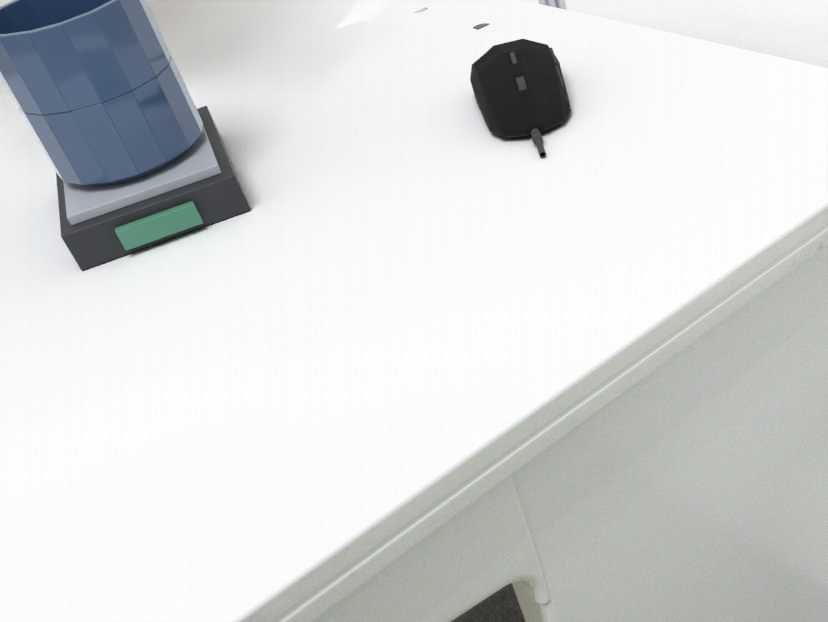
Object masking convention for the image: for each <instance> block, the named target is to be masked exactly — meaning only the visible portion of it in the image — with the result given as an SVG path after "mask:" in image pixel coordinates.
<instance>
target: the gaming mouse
mask: <svg viewBox="0 0 828 622" xmlns="http://www.w3.org/2000/svg"><path fill="white" fill-rule="evenodd" d="M470 68H471V69H470V79H469V80H470V85H471V88H472V91H473V95H474V99H475V102H476V104H477V106H478V108H479V110H480V113H481V116H482V118H483V120H484V123H485V124H486V126H487V128H488V130H489V132H490V133H492V134H493V135H496V136H499V137H502V138H505V139H507V138H517V137H518V138H519V137H527V136H531V140H532V143H533V144H534V145H535V146H536V149H537V152H538V154H539V157H540V158H543V159H544V158H546V157H547V156H546V155H547V153H546V151H545V148H544V145H543V141H544V139H543V136H542V134H541V133H542V132H545V131H548V130H550V129H552V128H554V127H556V126H558V125H561V124H562V123H564V122H565V120H566V119H567V118H568V116H569V114H570V113H571V111H572V108H571V104H570V99H569V94H568V89H567V87H566V82H565V78H564V75H563V71H562V67H561V63H560V60H559V59H558V57H557V56H556V54H555V51H554V49H553V47H552V46H551V47H550V46H549V45H548V44H546V43H542V42H538V41H534V40H530V39H526V38H519V39H516V40H510V41H506V42H503V43H499V44H495V45H492V46H491V47H490V48H489V49H488V50H487V51H486V52H485V53H483V54H482V55H481V56H480V57H479V58H478V59H476V60H475V61H473V63H472V64H471V67H470Z"/></svg>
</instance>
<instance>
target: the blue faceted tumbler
mask: <svg viewBox="0 0 828 622" xmlns="http://www.w3.org/2000/svg"><path fill="white" fill-rule="evenodd" d="M0 78H1V80H2V82H3V84H4V85H5V87H6V89H7V90H8V93H9V94H10V96H11V97H12V99H13V101H14V103H15V104H16V106H17V108H18V110H19V111H20V113H21V115H22V117H23V118H24V120H25V122H26V123H27V125H28V127H29V128H30V130H31V132H32V133H33V135H34V137H35V139H36V140H37V142H38V144H39V146H40V148H41V150H42V151H43V153H44V154H45V156H46V158H47V160H48V161H49V162H50V165H51V166H52V168H53V169H54V172H55V174H56V173H57V174H58V175H59V177H60V178H61V179H62V180H63V181H64V182H67V183H73V184H79V185H89V186H110V185H116V184H121V183H126V182H130V181H133V180H136V179H139V178H142V177H145V176H148V175H150V174H152V173H155V172H157V171H159V170H161V169H163V168H165V167H167V166H169V165H170V164H172V163H174V162H175V161H176V160H178V159H179V158H181V157H182V156H183V155H184V154H185V153H186V152H187V151H188V150H189V149H190V148H191V146H192V144H193V143H194V142H195V141H196V140H197V139H198V138H199V137H200V136H201V134H202V128H203V122H202V120H201V118H200V115H199V113H198V111H197V109H198V108H197V106H196V105H195V103H194V101H193V99H192V96H191V94H190V92H189V90H188V88H187V85H186V84H185V82H184V79H183V77H182V75H181V72H180V70H179V69H178V66H177V64H176V62H175V60H174V58H173V55H172V53H171V51H170V49H169V46H168V45H167V42H166V41H165V38H164V36H163V34H162V32H161V29H160V28H159V25H158V23H157V21H156V18H155V16H154V14H153V12H152V11H151V8H150V6H149V4H148V2H147V0H11V1H8V2H7V3H4V4H2V5H1V6H0ZM195 106H196V107H195ZM196 108H197V109H196Z"/></svg>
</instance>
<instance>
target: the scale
mask: <svg viewBox="0 0 828 622" xmlns="http://www.w3.org/2000/svg"><path fill="white" fill-rule="evenodd" d="M195 107H196V109H197V111H198V113H199V115H200V118H201V120H202V122H203V128H202V134H201V136H200V137H199V138H198V139H197V140H196V141H195V142H194V143H193V144H192V146H191V148H190V149H189V150H188V151H187V152H186V153H185V154H184V155H183V156H182V157H181V158H179V159H178V160H176V161H175V162H174V163H172V164H170V165H169V166H167V167H165V168H163V169H161V170H159V171H157V172H155V173H152V174H150V175H148V176H145V177H142V178H139V179H136V180H133V181H130V182H126V183H121V184H116V185H110V186H89V185H79V184H73V183H67V182H64V181H63V180H62V179H61V178H60V177H59V175H58V174H57V173H56V172H55V179H56V191H57V203H58V204H57V205H58V214H59V227H60V237H61V239H62V241H63V243H64V245H65V246H66V248H67V249H68V251H69V252H70V254H71V256H72V257H73V259H74V261H75V262H76V264H77V266H78V267H79V269H80V271H83V272H84V271H85V270H87V269H91V268H94V267H96V266H99V265H102V264H104V263H107V262H110V261H113V260H117V259H119V258H121V257H124V256H128V255H130V254H133V253H135V252H138V251H141V250H144V249H146V248H147V249H148V248H149V247H152V246H155V245H158V244H160V243H163V242H165V241H169V240H172V239H174V238H177V237H180V236H183V235H186V234H188V233H191V232H194V231H197V230H199V229H203V228H205V227H208V226H211V225H213V224H216V223H218V222H222V221H224V220H227V219H229V218H233V217H236V216H238V215H241V214H244V213H247V212H249V211H251V209H252V208H251V206H250V204H249V201H248V199H247V197H246V194H245V192H244V189H243V187H242V185H241V182H240V180H239V176H238V175H237V172H236V170H235V168H234V164H233V162H232V159H231V158H230V155H229V152H228V149H227V148H226V145H225V143H224V141H223V137H222V136H221V134H220V132H219V130H218V127H217V125H216V123H215V120H214V119H213V115H212V113H211V112H210V110H209V108H208V106H207V105H204V106H202V107H198V108H197V106H196V105H195Z"/></svg>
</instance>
